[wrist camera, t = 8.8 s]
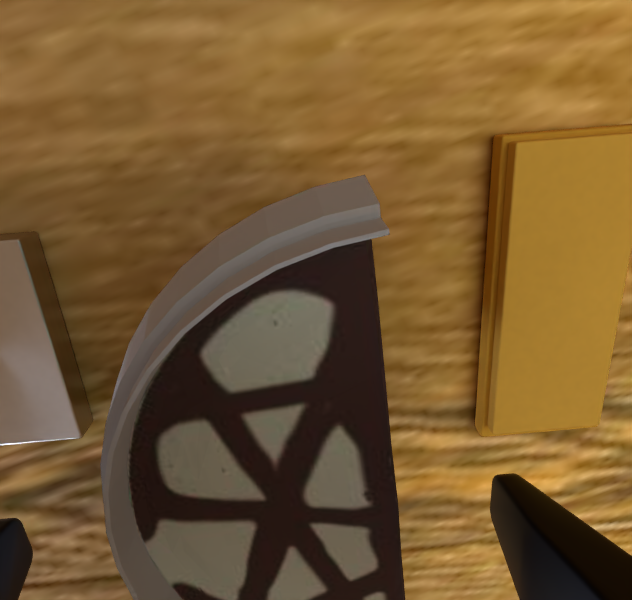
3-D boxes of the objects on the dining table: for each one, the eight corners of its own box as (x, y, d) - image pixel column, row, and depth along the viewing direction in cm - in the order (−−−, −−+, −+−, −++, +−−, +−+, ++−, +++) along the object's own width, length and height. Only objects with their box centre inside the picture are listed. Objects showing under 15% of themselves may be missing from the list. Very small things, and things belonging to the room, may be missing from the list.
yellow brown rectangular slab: (587, 416, 20) (607, 436, 19) (473, 426, 20) (486, 447, 19) (637, 123, 16) (667, 123, 14) (492, 134, 16) (510, 135, 14)
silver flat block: (94, 420, 19) (82, 438, 18) (-3, 428, 19) (-22, 447, 18) (38, 230, 16) (19, 238, 15) (-78, 240, 16) (-105, 249, 15)
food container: (152, 175, 16) (-57, 254, 6) (331, 149, 16) (386, 190, 6) (226, 462, 20) (168, 756, 11) (365, 443, 20) (427, 722, 11)
